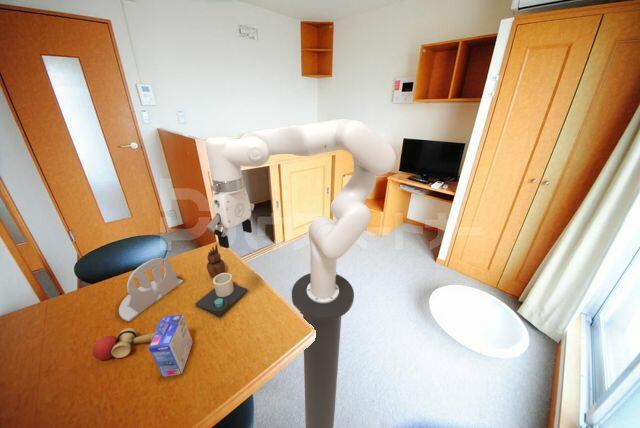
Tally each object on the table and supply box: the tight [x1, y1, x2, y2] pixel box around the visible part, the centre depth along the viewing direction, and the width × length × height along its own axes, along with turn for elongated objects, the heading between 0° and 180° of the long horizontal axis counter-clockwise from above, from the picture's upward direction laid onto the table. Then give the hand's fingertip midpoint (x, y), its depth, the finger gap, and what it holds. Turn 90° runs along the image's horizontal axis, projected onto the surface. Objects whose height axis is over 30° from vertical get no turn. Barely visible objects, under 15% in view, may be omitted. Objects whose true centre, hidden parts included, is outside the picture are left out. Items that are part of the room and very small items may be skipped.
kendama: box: [91, 327, 157, 361], centre depth 71 cm, size 8×6×18 cm
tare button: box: [214, 298, 224, 308], centre depth 83 cm, size 3×3×2 cm
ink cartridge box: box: [148, 314, 194, 377], centre depth 66 cm, size 10×6×14 cm, turn 10°
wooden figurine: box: [206, 243, 226, 279], centre depth 99 cm, size 7×6×15 cm
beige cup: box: [212, 272, 234, 297], centre depth 90 cm, size 7×7×6 cm
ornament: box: [118, 257, 184, 322], centre depth 88 cm, size 22×13×17 cm, turn 159°
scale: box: [195, 283, 249, 318], centre depth 89 cm, size 14×12×3 cm
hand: (236, 238), depth 71 cm, fingers open, 9 cm apart
